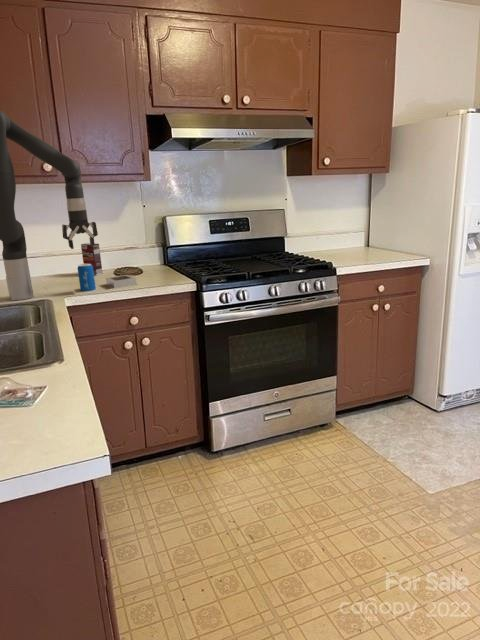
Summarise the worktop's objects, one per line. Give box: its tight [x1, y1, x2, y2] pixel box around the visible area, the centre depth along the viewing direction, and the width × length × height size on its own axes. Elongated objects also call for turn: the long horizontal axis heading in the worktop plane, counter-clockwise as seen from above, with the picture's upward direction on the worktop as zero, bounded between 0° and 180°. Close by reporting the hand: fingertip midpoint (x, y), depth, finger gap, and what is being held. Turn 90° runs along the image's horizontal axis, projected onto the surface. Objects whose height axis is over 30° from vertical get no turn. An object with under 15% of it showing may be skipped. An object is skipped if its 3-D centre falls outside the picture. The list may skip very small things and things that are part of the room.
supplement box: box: [80, 242, 103, 276], centre depth 248 cm, size 9×5×16 cm, turn 60°
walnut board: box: [99, 284, 114, 291], centre depth 219 cm, size 15×10×1 cm, turn 124°
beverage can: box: [77, 263, 96, 292], centre depth 211 cm, size 6×6×12 cm
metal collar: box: [105, 274, 138, 289], centre depth 219 cm, size 10×10×3 cm
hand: (82, 247), depth 207 cm, fingers open, 8 cm apart
